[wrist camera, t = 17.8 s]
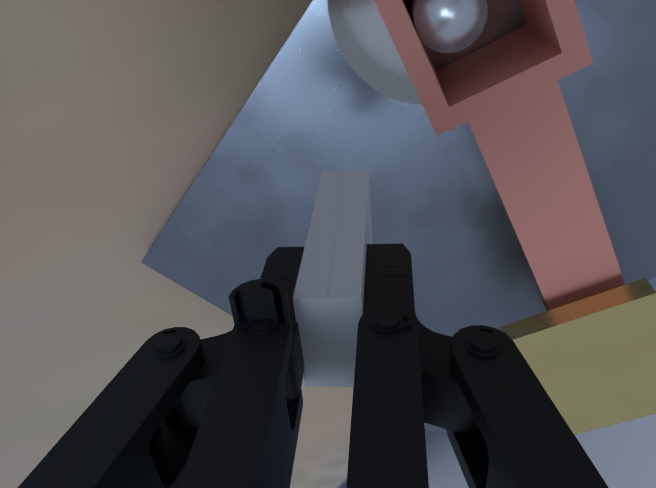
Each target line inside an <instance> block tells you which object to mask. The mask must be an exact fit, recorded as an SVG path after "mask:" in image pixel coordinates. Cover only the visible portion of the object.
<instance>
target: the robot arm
mask: <svg viewBox="0 0 656 488" xmlns="http://www.w3.org/2000/svg"><path fill="white" fill-rule="evenodd" d="M228 297H229V301H230V306H231V310H232V315H233V319H234V324H235V325H234V328H233V330H232V331H229V332H227V333H225V334H222V335H218V336H214V337H210V338H206V339H201V340H200V337H199V335H198V334H197V333H196V332H195V331H194V330H192V329H189V328H186V327H174V328H169V329H165V330H163V331H160V332H158V333H156V334H154V335H153V336H152V337H151V338H149V339H148V340H147V341H146V342H145V343H144V344H143V345H142V346H141V347H140V349H139V350H138V351H137V352H136V353H135V354H134V355H133V357H132V358H131V359H130V360H129V361H128V362H127V363H126V365H125V366H124V367H123V368H122V369H121V370H120V371H119V373H118V374H117V375H116V376H115V377H114V378H113V379H112V381H111V382H110V383H109V384H108V385H107V386H106V387H105V389H104V390H103V391H102V392H101V393H100V394H99V395H98V397H97V398H96V399H95V400H94V401H93V402H92V403H91V405H90V406H89V407H88V408H87V409H86V410H85V411H84V413H83V414H82V415H81V416H80V417H79V418H78V419H77V421H76V422H75V423H74V424H73V425H72V426H71V427H70V429H69V430H68V431H67V432H66V433H65V434H64V435H63V437H62V438H61V439H60V440H59V441H58V442H57V443H56V445H55V446H54V447H53V448H52V449H51V450H50V451H49V453H48V454H47V455H46V456H45V457H44V458H43V459H42V461H41V462H40V463H39V464H38V465H37V466H36V467H35V469H34V470H33V471H32V472H31V473H30V474H29V475H28V477H27V478H26V479H25V480H24V481H23V482H22V483H21V485H20V486H19V487H18V488H290V482H291V476H292V469H293V463H294V457H295V451H296V444H297V438H298V432H299V426H300V419H301V413H302V407H303V398H302V391H301V385H302V379H303V373H304V380H305V386H337V387H354V389H353V403H352V417H351V432H350V446H349V460H348V474H347V488H429V485H428V471H427V456H426V443H425V442H426V441H425V427H424V423H427V424H431V425H434V426H437V427H441V428H444V429H447V435H448V437H449V440H450V442H451V445H452V447H453V450H454V452H455V454H456V457H457V460H458V462H459V464H460V467H461V469H462V472H463V474H464V477H465V479H466V481H467V484H468V486H469V488H608V486H607V485H606V483H605V482H604V480H603V478H602V477H601V475H600V474H599V472H598V471H597V469H596V468H595V466H594V465H593V463H592V462H591V460H590V459H589V457H588V456H587V454H586V453H585V451H584V449H583V448H582V446H581V445H580V443H579V441H578V440H577V438H576V437H575V435H574V434H573V432H572V431H571V429H570V428H569V426H568V425H567V423H566V421H565V420H564V418H563V417H562V415H561V414H560V412H559V411H558V409H557V408H556V406H555V404H554V403H553V401H552V400H551V398H550V397H549V395H548V394H547V392H546V391H545V389H544V388H543V386H542V384H541V383H540V381H539V380H538V378H537V377H536V375H535V374H534V372H533V371H532V369H531V368H530V366H529V364H528V363H527V361H526V360H525V358H524V357H523V355H522V354H521V352H520V351H519V349H518V347H517V346H516V344H515V343H514V341H513V340H512V339H511V338H510V337H509V336H508V335H507V334H506V333H504V332H502V331H500V330H498V329H496V328H494V327H489V326H485V325H471V326H468V327H465V328H462V329H460V330H459V331H457V332H456V333H455V334H454V335H453V337H451V336H447V335H443V334H440V333H436V332H433V331H432V330H430V329H428V328H426V327H425V326H424V325H423V324H421V323H420V321H419V320H418V318H417V317H416V313H415V302H414V288H413V274H412V259H411V253H410V252H409V250H408V249H407V248H406V247H405V246H404V244H403V243H397V244H372V224H371V201H370V178H369V169H367V170H339V171H322V175H321V179H320V183H319V188H318V192H317V196H316V200H315V205H314V209H313V213H312V218H311V222H310V226H309V231H308V235H307V239H306V243H305V247H277V248H276V249H275V250H274V251H273V252H272V253H271V254H270V255H269V256H268V257H267V259H266V262H265V265H264V268H263V271H262V274H261V277H260V279H256V280H250V281H248V282H245V283H242V284H240V285H239V286H238V287H236V288H235V289H233V291H232V292H231V293H230V295H229V296H228Z"/></svg>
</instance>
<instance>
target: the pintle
mask: <svg viewBox="0 0 656 488" xmlns="http://www.w3.org/2000/svg"><path fill="white" fill-rule="evenodd" d="M408 6H409V9H410V13H411V16H412V19H413V23H414V26H415V29H416V32H417V34H418V36H419V38H420V40H421V41H422V42H423V43H424V44H425V45H426V46H427V47H428V48H430V49H432V50H434V51H436V52H440V53H454V52H458V51H461V50H463V49H465V48H467V47H468V46H470V45H471V44H472V43H473V42H474V41H475V40H476V39H477V38H478V37H479V35H480V34H481V32H482V31H483V28H484V26H485V23H486V20H487V12H488V9H487V2H486V0H408Z"/></svg>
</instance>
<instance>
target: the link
mask: <svg viewBox="0 0 656 488" xmlns="http://www.w3.org/2000/svg"><path fill="white" fill-rule="evenodd" d="M374 2H375V4H376V6H377V8H378V10H379V12H380V15H381V17H382V19H383V21H384V23H385V25H386V28H387V30H388V32H389V34H390V36H391V38H392V40H393V43H394V45H395V47H396V49H397V51H398V53H399V56H400V58H401V60H402V62H403V64H404V66H405V68H406V71H407V73H408V75H409V77H410V79H411V81H412V84H413V86H414V88H415V90H416V92H417V94H418V96H419V99H420V101H421V103H422V105H423V107H424V109H425V112H426V114H427V116H428V118H429V120H430V122H431V124H432V127H433V129H434V131H435V133H436V135H437V136H438V135H440V134H442V133H444V132H446V131H448V130H451V129H453V128H455V127H457V126H459V125H461V124H464V123H466V122H468V123H469V125H470V127H471V130H472V132H473V134H474V137H475V139H476V141H477V144H478V146H479V148H480V151H481V153H482V155H483V158H484V160H485V162H486V165H487V167H488V169H489V172H490V174H491V176H492V179H493V181H494V183H495V186H496V188H497V190H498V193H499V195H500V197H501V200H502V202H503V204H504V207H505V209H506V211H507V214H508V216H509V218H510V221H511V223H512V225H513V228H514V230H515V232H516V235H517V237H518V239H519V242H520V244H521V246H522V249H523V251H524V253H525V256H526V258H527V260H528V263H529V265H530V267H531V270H532V272H533V274H534V277H535V279H536V281H537V284H538V286H539V288H540V291H541V293H542V295H543V298H544V300H545V302H546V305H547V307H548V309H549V310H552V309H555V308H558V307H561V306H564V305H567V304H569V303H572V302H575V301H578V300H581V299H584V298H587V297H590V296H593V295H596V294H599V293H602V292H605V291H608V290H611V289H614V288H617V287H620V286H623V285H625V283H624V280H623V277H622V273H621V270H620V267H619V264H618V261H617V258H616V255H615V252H614V249H613V246H612V243H611V240H610V237H609V234H608V231H607V228H606V225H605V222H604V219H603V216H602V213H601V210H600V207H599V204H598V201H597V198H596V195H595V192H594V189H593V186H592V183H591V180H590V177H589V174H588V171H587V168H586V165H585V162H584V159H583V156H582V153H581V150H580V147H579V144H578V141H577V138H576V135H575V132H574V129H573V126H572V123H571V120H570V117H569V114H568V111H567V108H566V105H565V102H564V99H563V96H562V93H561V90H560V87H559V84H558V81H557V80H558V79H560V78H562V77H565V76H567V75H569V74H571V73H573V72H575V71H577V70H580V69H582V68H584V67H586V66H588V65H590V64H592V63H593V61H592V57H591V54H590V51H589V47H588V44H587V40H586V37H585V34H584V30H583V27H582V24H581V20H580V17H579V13H578V10H577V7H576V3H575V0H519V3H520V6H521V9H522V12H523V14H524V17H525V20H526V23H527V25H525V26H523V27H521V28H519V29H517V30H515V31H513V32H511V33H509V34H507V35H505V36H503V37H501V38H499V39H497V40H495V41H493V42H491V43H489V44H487V45H485V46H483V47H481V48H479V49H477V50H475V51H473V52H471V53H469V54H468V55H466V56H464V57H462V58H460V59H458V60H456V61H454V62H452V63H450V64H448V65H446V66H444V67H442V68H440V69H438V70H435V67H434V65H433V63H432V60H431V58H430V56H429V54H428V51H427V49H426V47H425V44H424V43H423V42H422V41H421V40H420V38H419V36H418V34H417V32H416V29H415V26H414V23H413V19H412V16H411V13H410V10H409V8H408V6H407V3H406V1H405V0H374Z"/></svg>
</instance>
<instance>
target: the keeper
mask: <svg viewBox="0 0 656 488" xmlns="http://www.w3.org/2000/svg"><path fill="white" fill-rule="evenodd" d="M545 308H546V312H543V313H540V314H537V315H534V316H531V317H528V318H525V319H522V320H519V321H516V322H513V323H510V324H507V325H504V326H501V327H499V328H500V331H502V332H504V333H506V334H507V335H508V336H509V337H510V338H511V339H512V340H513V341H514V343H515V344H516V346H517V347H518V349H519V351H520V352H521V354H522V355H523V357H524V358H525V360H526V361H527V363H528V364H529V366H530V368H531V369H532V371H533V372H534V374H535V375H536V377H537V378H538V380H539V381H540V383H541V384H542V386H543V388H544V389H545V391H546V392H547V394H548V395H549V397H550V398H551V400H552V401H553V403H554V404H555V406H556V408H557V409H558V411H559V412H560V414H561V415H562V417H563V418H564V420H565V421H566V423H567V425H568V426H569V428H570V429H571V431H572V432H573V434H574V435H575V434H579V433H583V432H587V431H591V430H595V429H598V428H602V427H606V426H610V425H613V424H618V423H621V422H625V421H629V420H633V419H637V418H641V417H644V416H648V415H652V414H656V292H655V290H654V289H653V288H652V286H651V285H650V284H649V282H648V281H647V279H646V278H644V279H641V280H638V281H635V282H632V283H629V284H626V285H623V286H620V287H617V288H614V289H611V290H608V291H605V292H602V293H599V294H596V295H593V296H590V297H587V298H584V299H581V300H578V301H575V302H572V303H569V304H567V305H564V306H561V307H558V308H555V309H552V310H549V309H548V307H547V305H545Z"/></svg>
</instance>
